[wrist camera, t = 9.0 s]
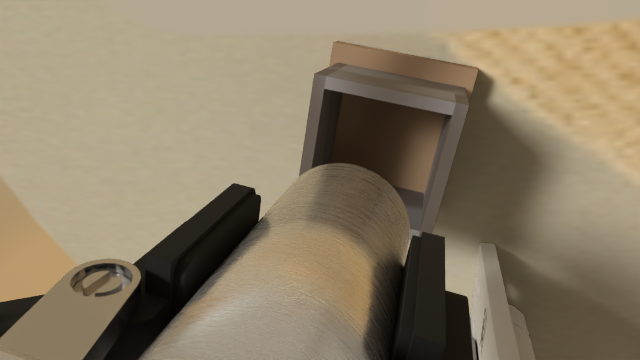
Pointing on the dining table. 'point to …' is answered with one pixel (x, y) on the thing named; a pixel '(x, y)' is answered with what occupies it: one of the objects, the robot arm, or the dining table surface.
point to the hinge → (496, 315)
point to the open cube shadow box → (390, 121)
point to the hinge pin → (303, 278)
